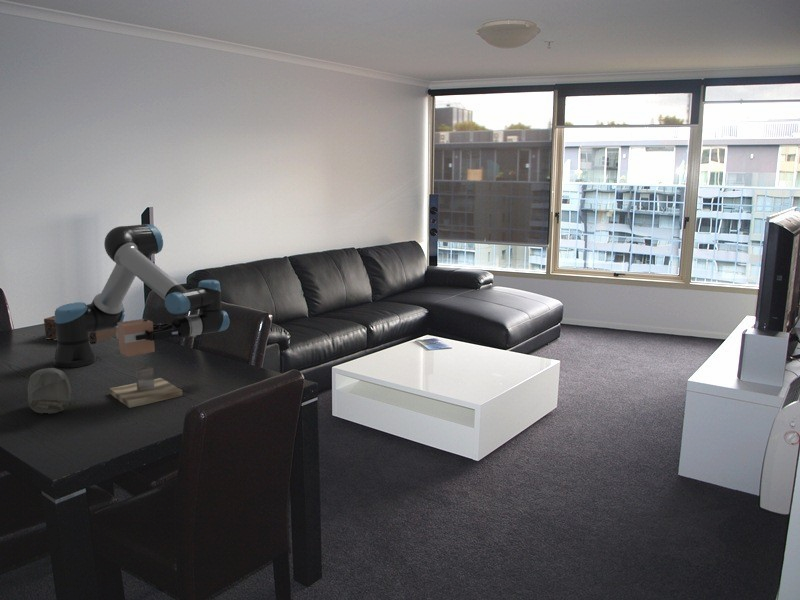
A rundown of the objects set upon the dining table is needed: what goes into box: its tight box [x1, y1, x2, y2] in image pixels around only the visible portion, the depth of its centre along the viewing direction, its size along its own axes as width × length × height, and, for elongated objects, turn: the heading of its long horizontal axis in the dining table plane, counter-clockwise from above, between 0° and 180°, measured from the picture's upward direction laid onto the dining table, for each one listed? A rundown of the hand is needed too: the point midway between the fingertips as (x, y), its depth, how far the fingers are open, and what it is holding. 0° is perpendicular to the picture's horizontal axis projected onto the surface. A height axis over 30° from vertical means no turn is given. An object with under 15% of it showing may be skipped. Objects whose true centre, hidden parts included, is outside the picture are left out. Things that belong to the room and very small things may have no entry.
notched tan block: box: [117, 318, 156, 357], centre depth 223 cm, size 7×9×11 cm
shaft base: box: [109, 365, 183, 409], centre depth 224 cm, size 18×18×10 cm
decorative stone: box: [27, 367, 72, 414], centre depth 210 cm, size 12×17×15 cm
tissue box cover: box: [43, 315, 117, 343], centre depth 300 cm, size 26×14×10 cm, turn 79°
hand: (121, 336), depth 220 cm, fingers closed on notched tan block, 7 cm apart
